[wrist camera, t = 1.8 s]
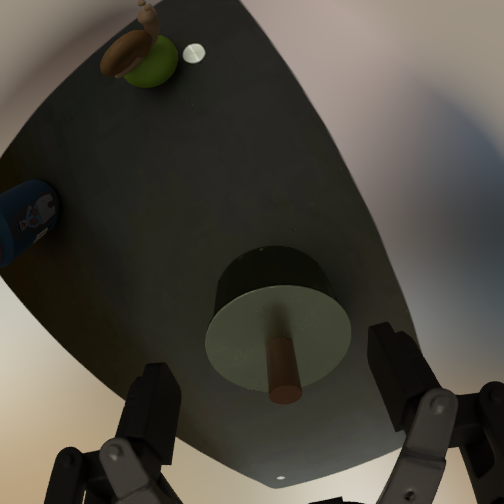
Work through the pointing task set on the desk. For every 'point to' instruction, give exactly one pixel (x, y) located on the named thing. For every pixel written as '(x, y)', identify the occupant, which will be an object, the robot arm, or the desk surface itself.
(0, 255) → the soda can
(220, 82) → the desk surface
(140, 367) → the desk surface
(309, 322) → the pot lid
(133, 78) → the snail figurine
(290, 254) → the pot
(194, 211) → the desk surface
